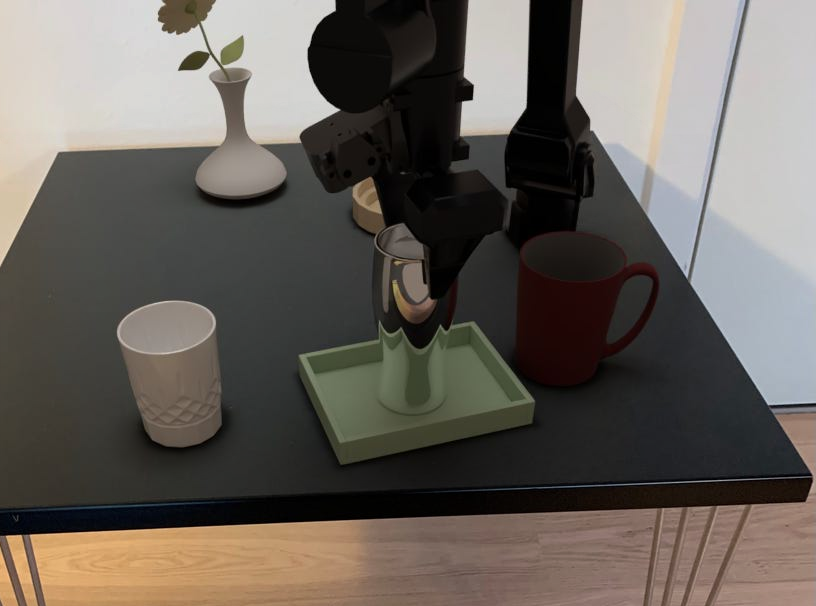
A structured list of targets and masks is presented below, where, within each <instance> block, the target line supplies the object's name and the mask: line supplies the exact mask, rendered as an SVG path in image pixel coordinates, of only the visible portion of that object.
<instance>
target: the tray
mask: <svg viewBox="0 0 816 606" xmlns="http://www.w3.org/2000/svg"><path fill="white" fill-rule="evenodd" d="M298 368H299V377H300V379H301V381H302V384H303V386H304V388H305V390H306V393H307V395H308V397H309V399H310V401H311V404H312V406H313V408H314V410H315V412H316V414H317V416H318V419H319V421H320V423H321V425H322V427H323V430H324V432H325V434H326V436H327V439H328V441H329V443H330V445H331V447H332V450H333V452H334V454H335V457H336V458H337V460H338V463H339V465H340V466H343V465H348V464H353V463H356V462H357V463H358V462H361V461H367V460H370V459H371V460H372V459H375V458H380V457H385V456H389V455H393V454H399V453H403V452H409V451H412V450H417V449H421V448H426V447H430V446H435V445H439V444H444V443H449V442H452V441H457V440H463V439H467V438H472V437H477V436H480V435H486V434H490V433H494V432H495V433H496V432H499V431H504V430H508V429H512V428H518V427H522V426H528V425H531V424H533V419H534V415H535V414H534V412H535V406H536V400H535V399H534V397H533V396H532V395H531V394H530V392H529V391H528V390H527V388H526V387H525V386H524V385H523V384H522V382H521V381H520V379H519V378H518V376H517V375H516V374H515V373H514V371H513V370H512V369H511V368H510V366H509V365H508V364H507V362H506V361H505V360H504V359H503V357H502V355H500V353H499V352H498V351H497V349H496V348H495V346H494V345H493V343H491V341H490V340H489V339H488V337H487V336H486V335H485V333H484V332H483V331H482V330H481V329H480V327H479V326H478V324H477V323H476V322H475V321H474V320H473V321H468V322H462V323H457V324H452V326H451V330H450V334H449V337H448V341H447V345H446V349H445V353H444V359H443V375H444V381H445V387H446V397H445V400H444V402H443V403H442V404H441V405H440V406H439V407H438V408H436V409H435V410H433V411H430V412H428V413H424V414H418V415H406V414H400V413H397V412H394V411H391V410H390V409H388V408H386V407H385V406H384V405H383V404H382V403H381V402H380V401H379V398H378V395H377V389H378V384H379V379H380V375H381V369H382V353H381V347H380V342H379V339H374V340H369V341H364V342H358V343H352V344H349V345H348V344H347V345H342V346H337V347H333V348H327V349H322V350H316V351H313V352H307V353H302V354H298Z"/></svg>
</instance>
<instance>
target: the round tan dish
mask: <svg viewBox="0 0 816 606" xmlns="http://www.w3.org/2000/svg"><path fill="white" fill-rule="evenodd" d="M352 219H354V221H355V222H356V224H357V225H358V226H359V227H361V228H362V229H364V230H365V231H367V232H368V233H371V234H375V235H377V233H378V232H379V231H381V230H382V229H383V228H385V223H384V219H383V215H382V212H381V208H380V204H379V200H378V196H377V192H376V189H375V185H374V182H373V179H372V178H371V177H369V178H367V179H366V180H364V181H362V182H360V183H358V184H356V185H354V186H353V187H352Z"/></svg>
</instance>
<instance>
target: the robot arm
mask: <svg viewBox="0 0 816 606" xmlns="http://www.w3.org/2000/svg"><path fill="white" fill-rule="evenodd" d="M528 1H529V2H528V33H527V34H528V38H527V68H526V69H527V73H526V74H527V75H526V102H525V103H526V105H525V109H524V110H523V111H522V113H521V115H520V116H519V117H518V118H517V120H516V122H515V124H514V125H513V126H512V128H511V129H510V131H509V134H508V136H507V137H506V144H505V147H504V154H503V155H504V156H503V163H504V180H505V188H506V189H514V190H516V192H515V193H516V195H515V199H513V200H512V201H511V205H510V214H509V223H507V222H508V212H509V202H510V199H508V198H507V197H506V196H505V194H503V192H501V190H500V189H498V188H497V187H496V186H495V184H493V183H492V182H491V181H490V180H489V179H488V178H487V177H486V176H485V175H484V174H483V173H482V172H481V171H480V170H479V169H477V168H476V169H471V170H466V171H459V172H456V171H455V170H454V169H453V168H451V167H452V163H454V162H461V161H466V160H469V159H470V150H471V149H470V148H471V145H470V144H469V143H468V142H467V141H466V140H465V139H464V138H463V137H462V136H461V128H462V127H461V126H462V111H463V103H464V102H471V101H474V91H475V85H474V83H472V82H471V81H470V80H469V79H467V78H466V77H465V62H466V50H467V49H466V48H467V33H468V19H469V18H468V17H469V2H470V1H469V0H334V2H335V3H334V4H335V5H334V6H335V9H334V11H332V12H330V13H329V14H327V15H326V16H324V17H323V18H322V19H321V20H320V21H319V22H318V23H317V24H316V26H315V28H314V30H313V32H312V34H311V38H310V41H309V45H308V47H307V51H306V52H307V55H306V57H307V65H308V66H307V67H308V71H309V73H310V74H309V75H310V76H311V80H312V82H313V84H314V86H315V87H316V89H317V91H318V93H319V94H320V95H321V97H323V98H324V100H325V101H326V102H327V103H329V104H330V105H331V106H333V107H334V108H335V109H337V110H338V111H336V112H333V113H332V114H330V115H328V116H326V117H325V118H322V119H320V120H319V121H317V122H315V123H313V124H311V125H309V126H308V127H305V128H304V129H303V130H302V131H301V132H300V134H299V136H298V137H299V141H300V143H301V145H302V148H303V149H304V150H303V151H305V155H306V156H307V159H308V161H309V163H310V166H311V168H312V170H313V173H314V175H315V177H316V178H317V180H318V181H319V182H320V183H321V185H322V186H323V189H324V190H325V192H326V193H328V194H338V193H341V192H343V191H345V190H347V189H348V188H349V187H350V188H351V187H352V188H353V187H354V186H355V185H356V184H358V183H360V182H362V181H364V180H366V179H367V178H369V177H371V178H372V179H373V182H374V185H375V189H376V192H377V196H378V200H379V204H380V208H381V212H382V215H383V219H384V223H385V227H387V226H389V225H392V224H395V223H400V222H404V225H405V226H406V227H407V229H408V230H409V231H410V232H411V234H412V235H413V236H414V238H415V239H416V240H417V241H418V242H419V243H421V244H423V253H424V262H425V272H426V281H427V287H428V294H429V297H430V299H431V300H436V299H441V298H443V297H444V296H445V295H446V293H447V292H448V290H449V288H450V287H451V285H452V284H453V282H454V281H455V279H456V277H457V276H458V274H459V275H460V273H461V271H462V270H463V267H464V266H465V264H466V263H467V262H468V260H469V259H470V257H471V256H472V254H473V253H474V252H475V250H476V249H477V247H478V246H479V245H480V243H481V242H482V241H483V240H484V238H485V237H486V236H488V235H489V236H490V235H494V234H495V233H496V232H502V231H503V230H504V229H505V230H504V231H505V233H506V234H507V236H509V238H510V239H511V240H512V241H513V242H514V243H515V244H516V245H517V246H518V247H519V248H520V249H521V248H522V246H523V245H524V244H525V243H526V242H527V241H528V240H530V239H532V238H534V237H536V236H538V235H542V234H545V233H551V232H561V231H572V232H577V226H578V225H577V224H578V219H579V212H580V207H581V203H582V202H583V200H584V199H589V198H594V196H595V193H596V188H597V180H598V171H599V162H598V158H597V155H596V151H595V150H596V149H595V146H594V144H593V143H591V118H590V116H589V114H588V113H587V111H586V110H585V108H584V106H583V104H582V103H581V101H580V99H579V97H578V96H577V85H578V73H579V72H578V71H579V60H580V59H579V58H580V43H581V33H582V31H581V30H582V19H583V18H582V17H583V4H584V0H528ZM405 221H407V222H405ZM507 224H508V226H507Z"/></svg>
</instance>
